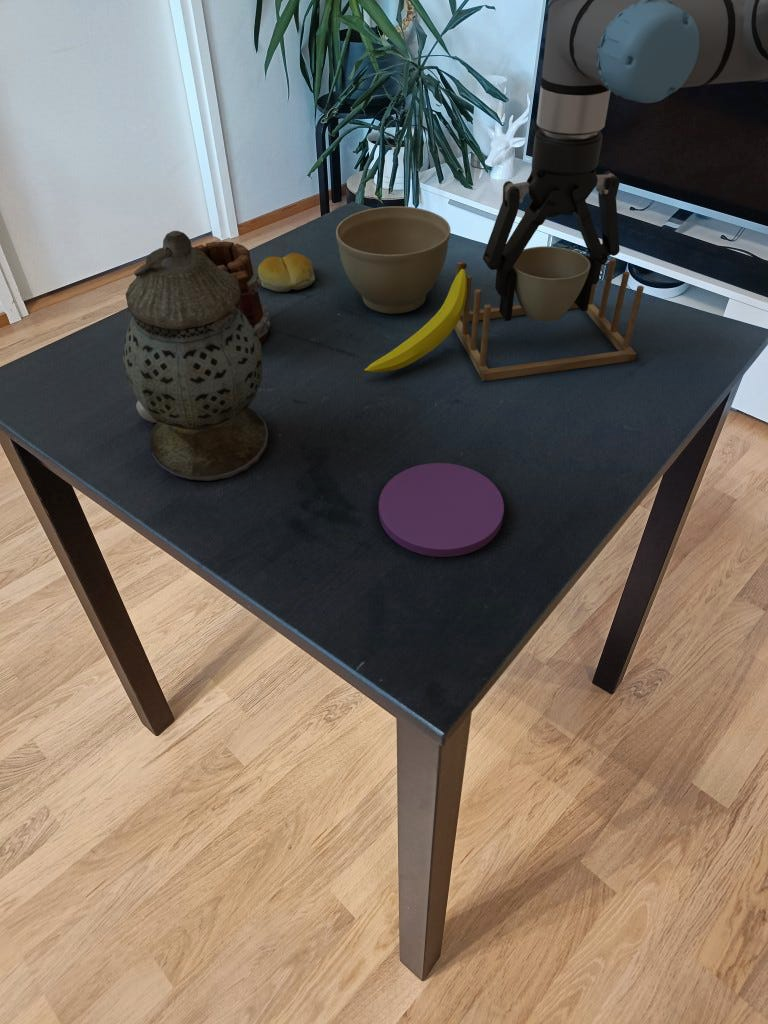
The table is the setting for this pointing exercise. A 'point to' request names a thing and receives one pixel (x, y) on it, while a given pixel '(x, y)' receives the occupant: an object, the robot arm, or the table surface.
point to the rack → (597, 316)
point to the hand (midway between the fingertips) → (543, 311)
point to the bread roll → (286, 272)
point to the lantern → (194, 363)
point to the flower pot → (549, 281)
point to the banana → (428, 330)
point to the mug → (241, 281)
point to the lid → (441, 509)
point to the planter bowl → (393, 255)
